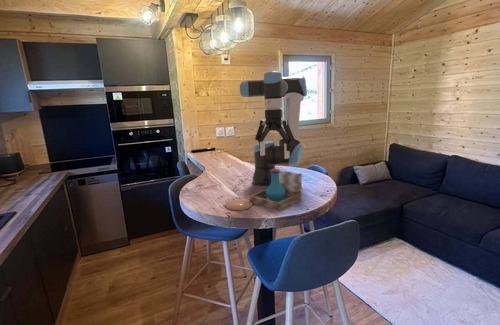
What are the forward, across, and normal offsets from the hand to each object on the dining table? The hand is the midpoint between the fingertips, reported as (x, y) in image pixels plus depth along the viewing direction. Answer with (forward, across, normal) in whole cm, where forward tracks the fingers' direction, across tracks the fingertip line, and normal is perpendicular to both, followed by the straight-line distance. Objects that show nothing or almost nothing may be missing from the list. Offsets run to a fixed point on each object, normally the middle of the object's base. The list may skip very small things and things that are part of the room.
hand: (274, 156), depth 122 cm
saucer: (+21, -10, -14) cm, 27 cm away
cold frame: (+21, 0, 0) cm, 21 cm away
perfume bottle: (+21, 0, 0) cm, 21 cm away
